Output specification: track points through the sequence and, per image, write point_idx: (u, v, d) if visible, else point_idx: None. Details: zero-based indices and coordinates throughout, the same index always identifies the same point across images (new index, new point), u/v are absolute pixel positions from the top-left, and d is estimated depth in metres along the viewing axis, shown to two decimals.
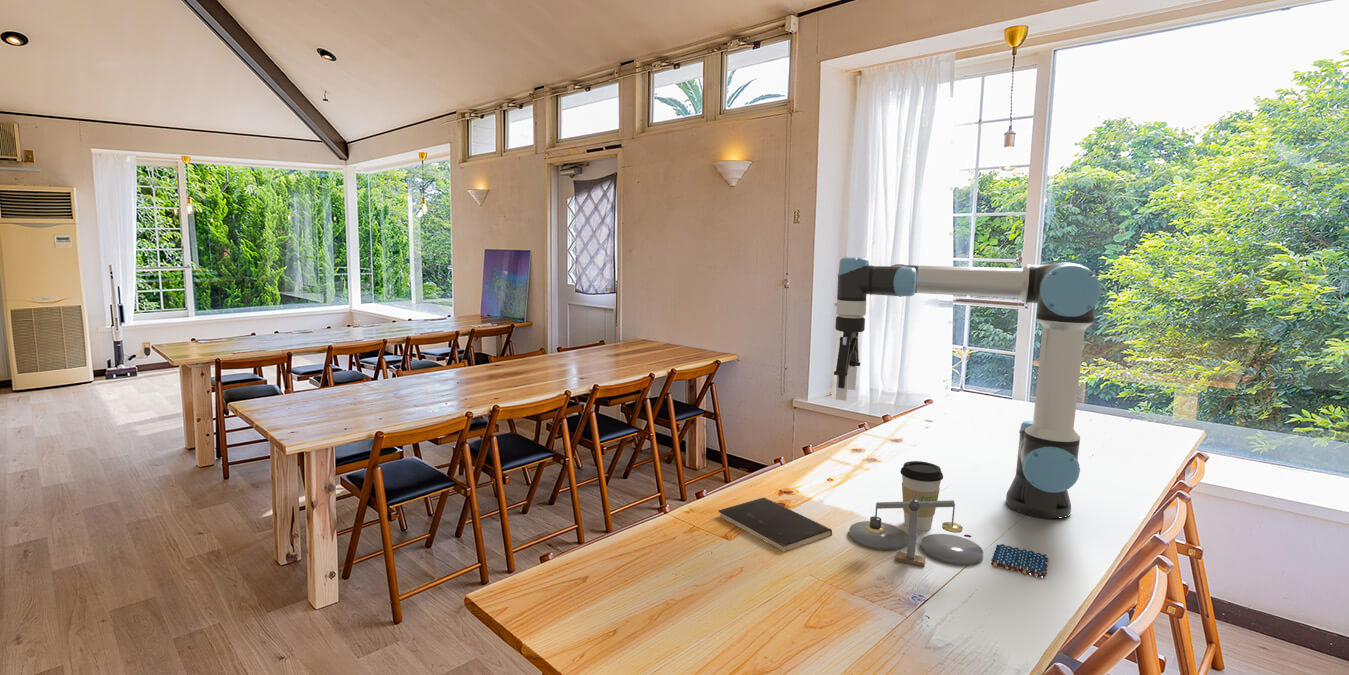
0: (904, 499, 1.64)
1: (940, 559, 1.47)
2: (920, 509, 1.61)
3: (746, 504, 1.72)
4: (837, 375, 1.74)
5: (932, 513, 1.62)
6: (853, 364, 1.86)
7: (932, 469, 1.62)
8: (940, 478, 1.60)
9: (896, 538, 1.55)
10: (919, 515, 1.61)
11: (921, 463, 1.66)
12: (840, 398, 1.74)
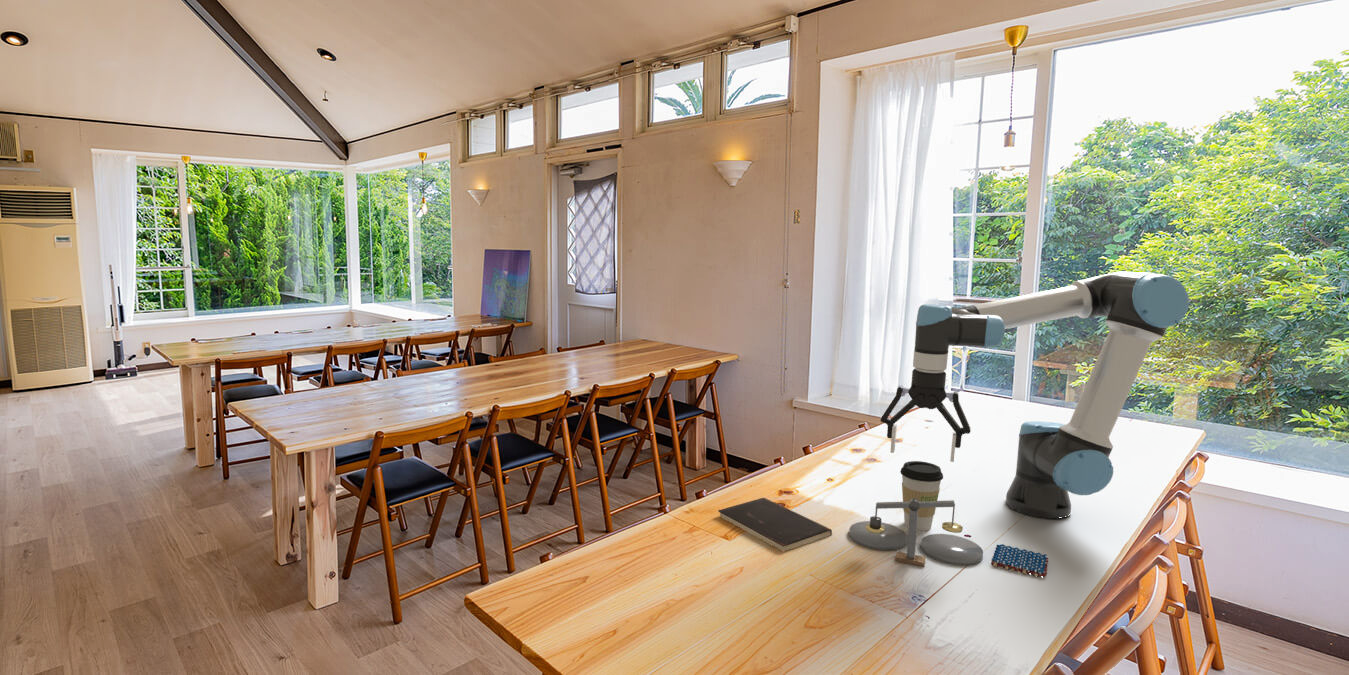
0: (904, 499, 1.64)
1: (940, 559, 1.47)
2: (920, 509, 1.61)
3: (746, 504, 1.72)
4: None
5: (932, 513, 1.62)
6: (956, 432, 1.58)
7: (932, 469, 1.62)
8: (940, 478, 1.60)
9: (896, 538, 1.55)
10: (919, 515, 1.61)
11: (921, 463, 1.66)
12: None
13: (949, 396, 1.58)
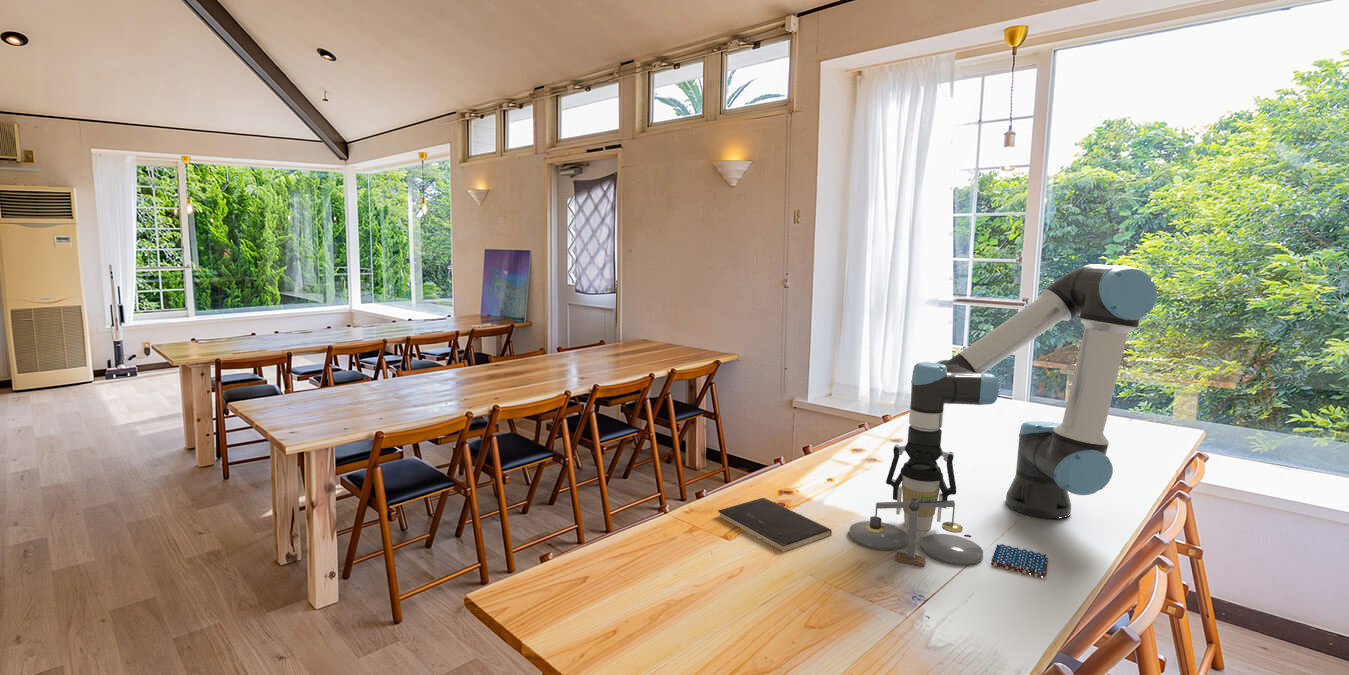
0: (904, 499, 1.64)
1: (940, 559, 1.47)
2: (920, 509, 1.61)
3: (746, 504, 1.72)
4: (898, 486, 1.67)
5: (932, 513, 1.62)
6: None
7: None
8: (940, 478, 1.60)
9: (896, 538, 1.55)
10: (919, 515, 1.61)
11: None
12: None
13: (944, 455, 1.60)
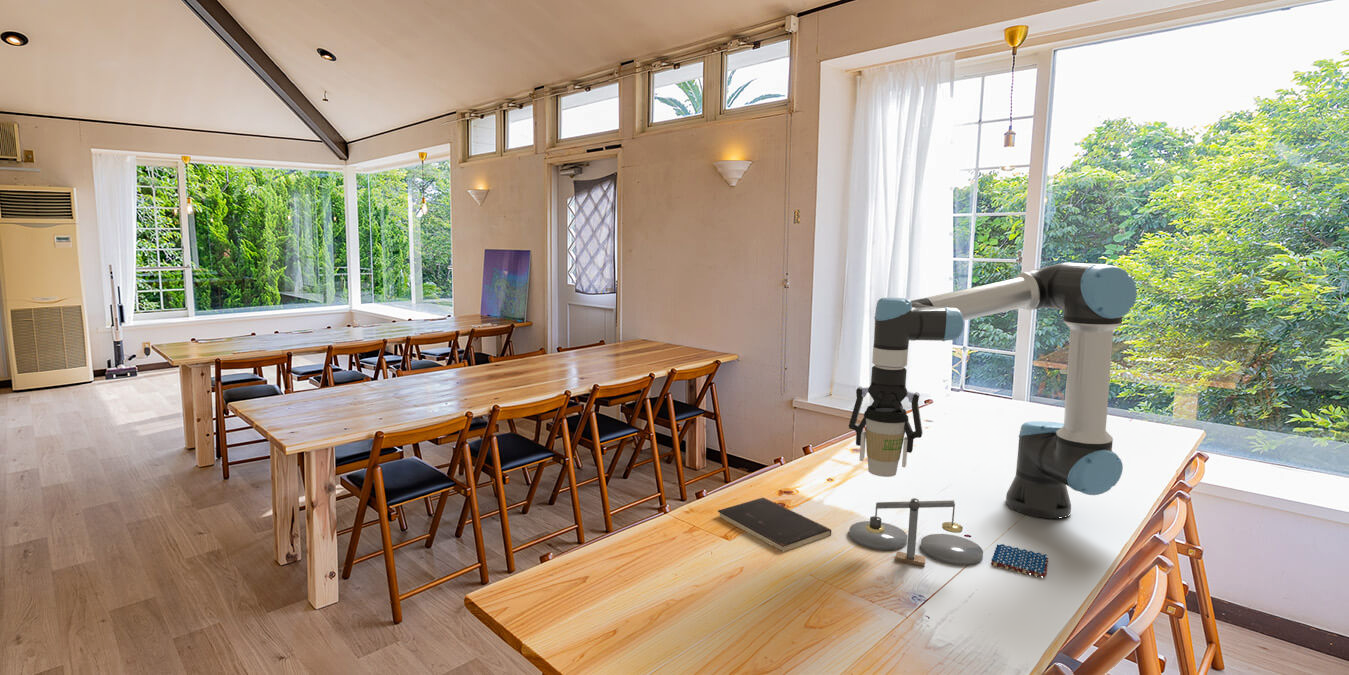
0: (867, 444, 1.54)
1: (940, 559, 1.47)
2: (884, 453, 1.51)
3: (745, 504, 1.72)
4: (862, 431, 1.58)
5: (897, 458, 1.52)
6: None
7: None
8: (905, 420, 1.50)
9: (896, 538, 1.55)
10: (883, 460, 1.52)
11: (886, 406, 1.56)
12: None
13: (909, 396, 1.51)
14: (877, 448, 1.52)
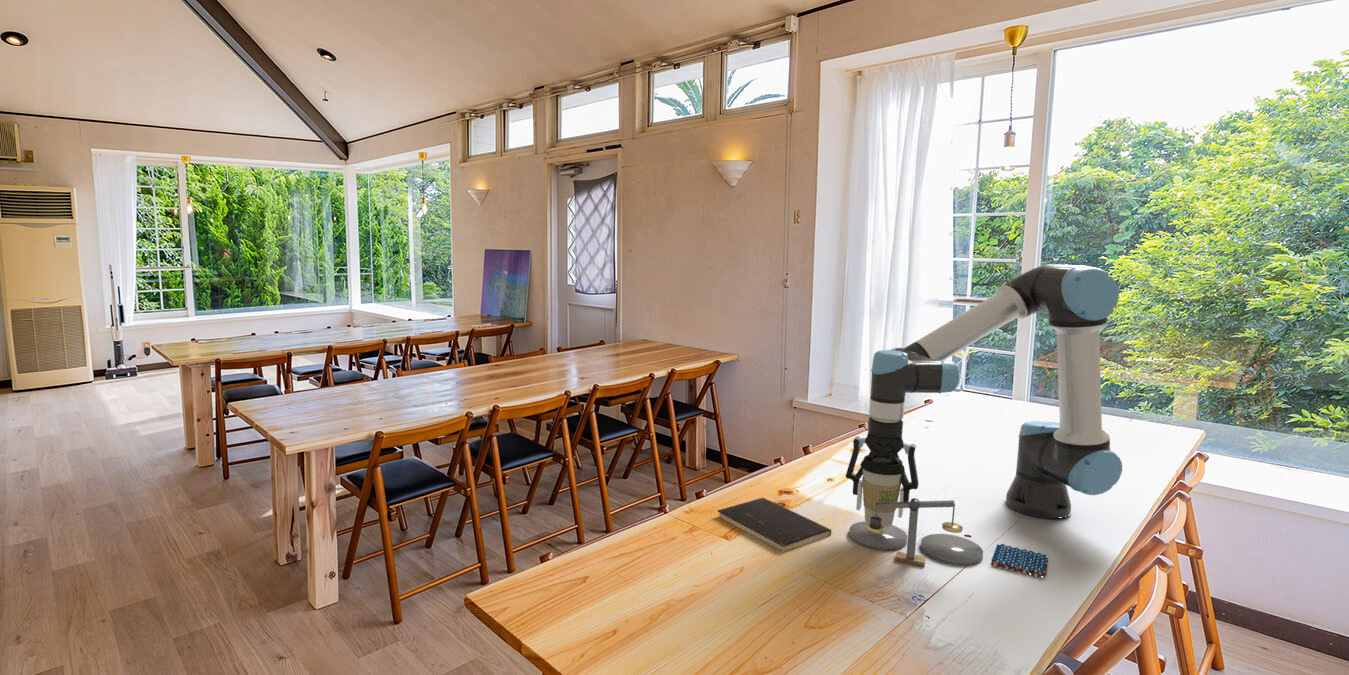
0: (864, 494, 1.56)
1: (940, 559, 1.47)
2: None
3: (745, 504, 1.72)
4: (859, 480, 1.59)
5: (893, 508, 1.54)
6: None
7: None
8: (901, 472, 1.52)
9: (896, 538, 1.55)
10: (879, 510, 1.53)
11: None
12: None
13: (905, 448, 1.52)
14: (874, 499, 1.54)
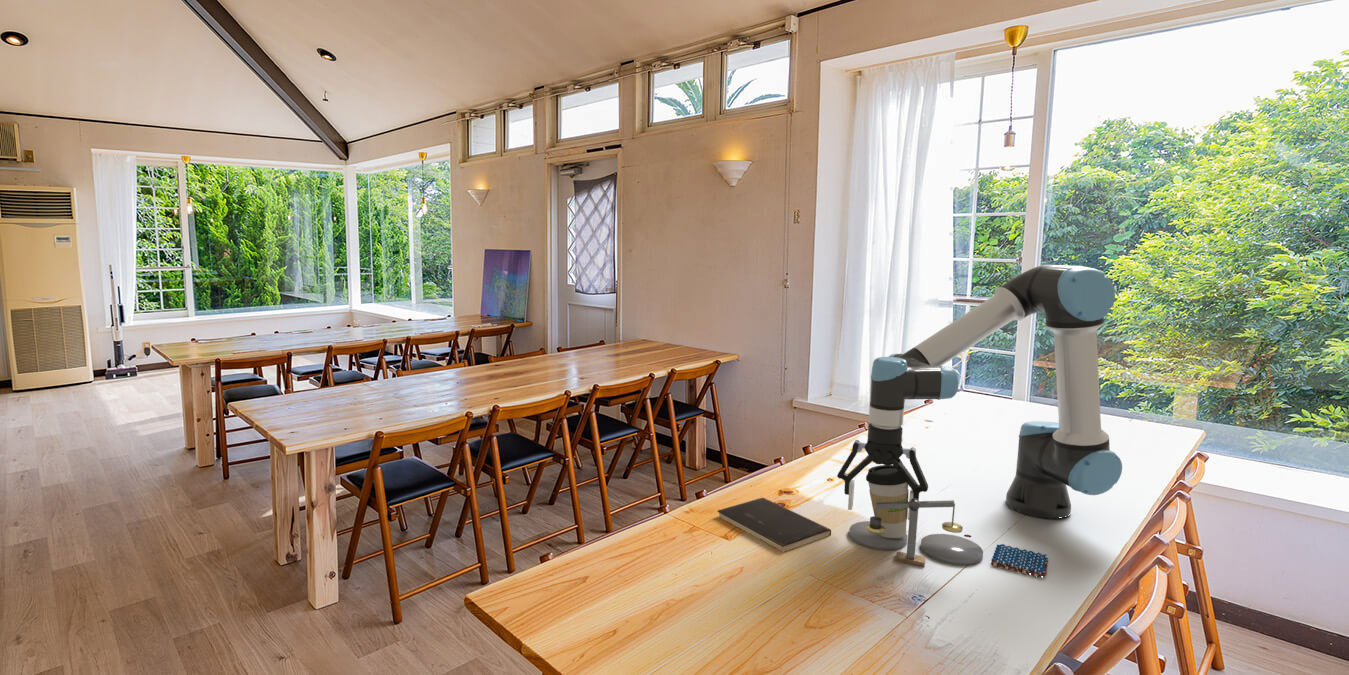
0: (873, 507, 1.56)
1: (940, 559, 1.47)
2: (890, 515, 1.53)
3: (745, 504, 1.72)
4: (851, 480, 1.60)
5: (904, 518, 1.54)
6: None
7: (897, 471, 1.54)
8: (906, 480, 1.52)
9: (896, 538, 1.55)
10: (890, 522, 1.53)
11: (887, 467, 1.59)
12: None
13: (905, 453, 1.53)
14: (883, 511, 1.53)
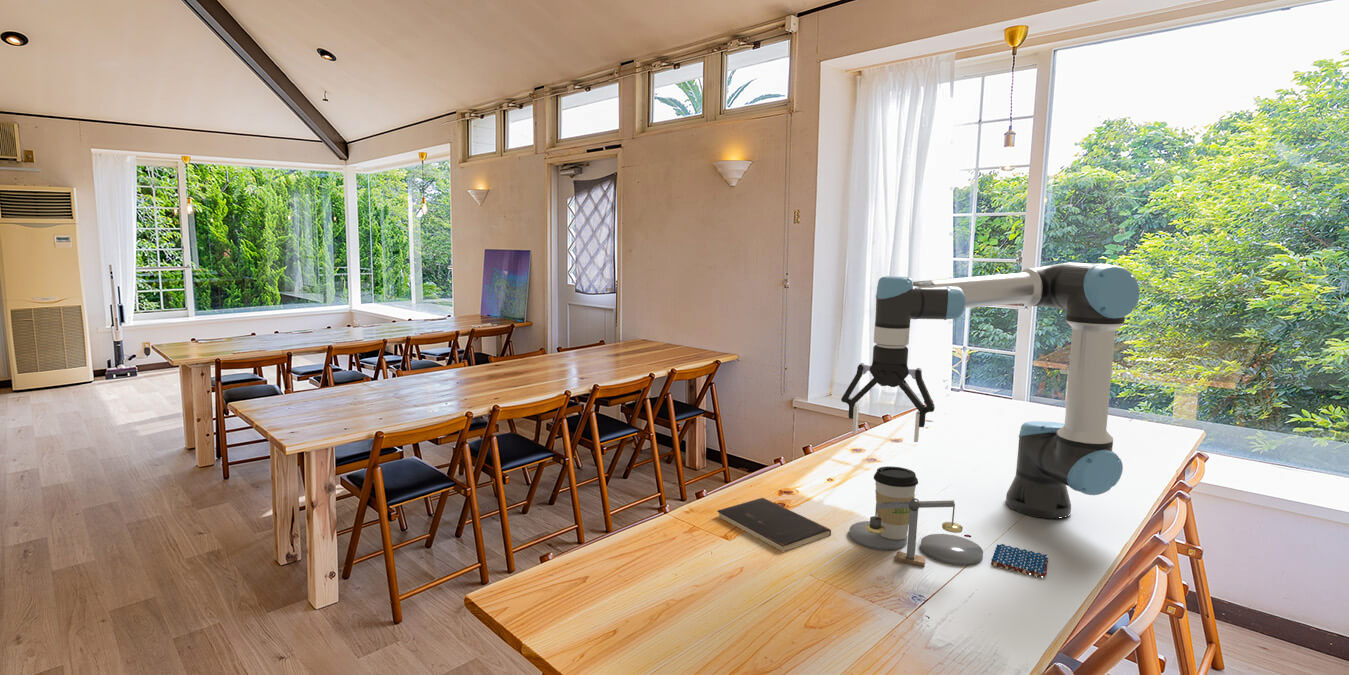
0: None
1: (940, 559, 1.47)
2: (894, 516, 1.53)
3: (745, 504, 1.72)
4: (855, 404, 1.57)
5: (907, 521, 1.54)
6: None
7: (906, 474, 1.54)
8: (914, 483, 1.52)
9: None
10: (893, 523, 1.53)
11: (895, 468, 1.58)
12: None
13: (911, 373, 1.50)
14: (887, 511, 1.53)
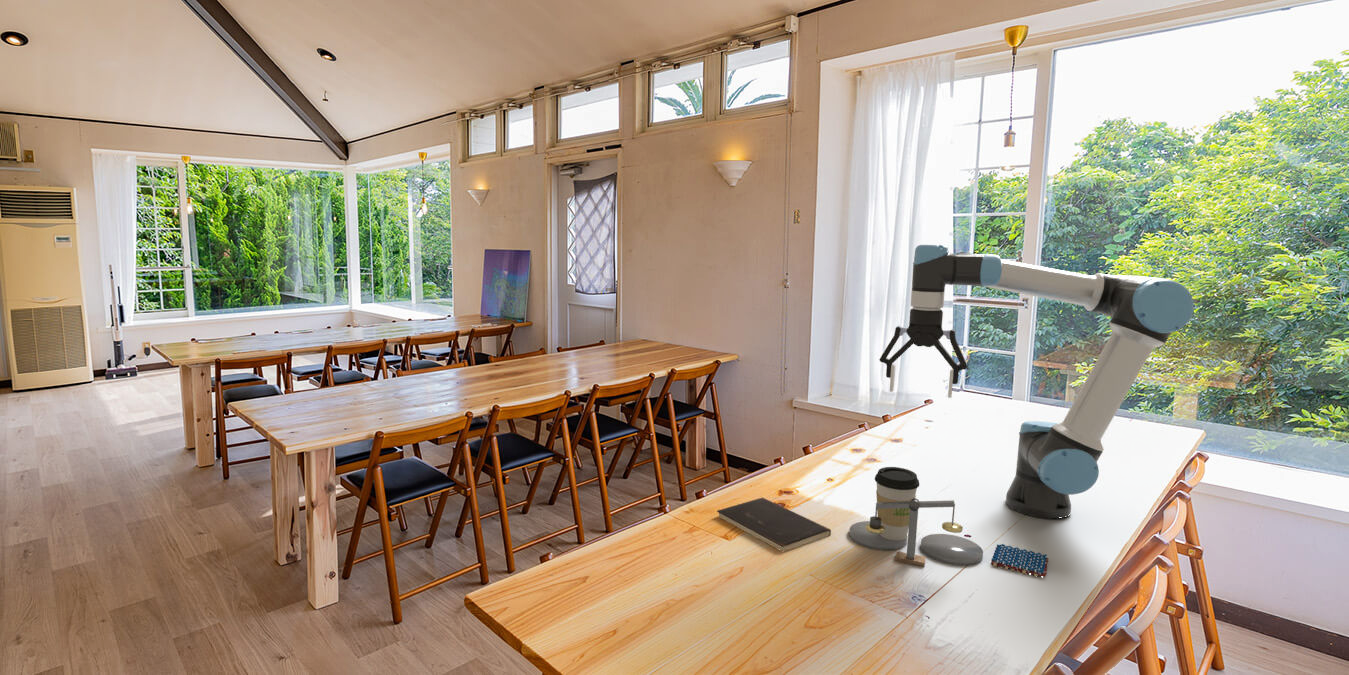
0: None
1: (940, 559, 1.47)
2: (895, 518, 1.52)
3: (745, 504, 1.72)
4: (892, 364, 1.70)
5: (907, 522, 1.53)
6: None
7: (908, 476, 1.53)
8: (916, 486, 1.51)
9: None
10: (894, 524, 1.53)
11: (897, 469, 1.57)
12: None
13: (946, 334, 1.62)
14: (888, 513, 1.53)
